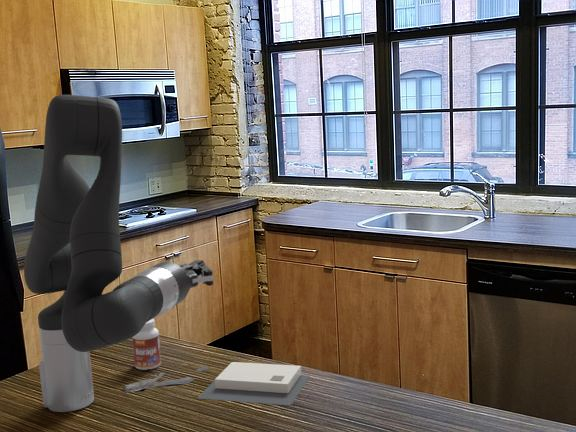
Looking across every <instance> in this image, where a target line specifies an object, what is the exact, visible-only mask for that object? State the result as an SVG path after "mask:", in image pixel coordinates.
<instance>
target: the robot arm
mask: <svg viewBox="0 0 576 432" xmlns="http://www.w3.org/2000/svg"><path fill="white" fill-rule="evenodd" d="M45 116H46V117H45V126H44V127H45V129H44V140H43V141H44V143H43V144H44V145H43V157H42V159H43V161H42V168H41V169H42V170H41V175H40V179H39V184H38V185H39V186H38V191H37V194H36V195H37V196H36V201H35V208H34V219H33V228H32V231H31V232H32V234H31V236H30V237H31V238H30V240H29V244H28V246H27V250H26V254H25V258H24V264H23V276H24V277H23V278H24V282H25V284H26V287H27V289H28V290H29V291H30V292H31V293H33V294H36V295H48V294H52V293H58V292H63V294H62V295H61V296H60V297H59V298H58V299H57V300H56V301H55V302H53V303H51V304H50V305H48V306H46V307H45V308H43V309H42V310H41V311H40V312H39V313H38V314H37V321H38V330H39V337H40V338H39V340H40V347H41V349H40V350H41V356H42V361H39V363H38V368H39V376H40V378H39V379H40V385H41V393H42V394H41V395H42V403H43V407H44V408H48V409H49V410H50V411H52V412H54V413H55V412H57V413H69V412H75V411H77V410H81V409H85V408H87V407H88V406H90V405H91V404H92V403H93V402H94V400H95V395H94V393H95V392H94V384H93V371H92V363H91V362H92V361H91V355H90V354H91V353H90V352H93V351H96V350H98V349H99V350H100V349H102V348H106V347H109V346H113V345H115V344H120V343H123V342H125V341H127V340H130V339H132V337H133V336H135V335H136V334H138V333H139V332H140V330H141V329H142V328H143V326H144V325H145V323H146V322H148V321H150V320H151V319H154V318H156V317H158V316H159V317H160V316H161V315H163V314H165V313H166V312H168V311H169V310H171V309H172V308H174V307H175V306H177V305H179V304H180V303H182V302H183V301H185V299H186V298H187V296H188V294H189V292H190V290H191V289H192V288H195V287H197V286H198V285H199V283H202V285H206V286H209V287H210V286H213V285H214V273H213V270H212V269H211V268H210V267H208V266H207V265H206V262H204V261H205V260H203V259H202V260H201V259H197V260H196V259H195V260H194V261H191V262H189V263H183V264H177V263H175V262H172V261H162V262H159V263H156V264H155V265H153V266H151V267H149V268H147V269H145V270H142V271H140V272H138V273H137V274H135V275H134V276H133V277H132V278H130V279H128V280H125V281H123V282H122V283H120V284H118V285H117V286H116V287H114V289H112V291H109V292H106V293H103V292H104V290H105V289H106V287H108V286H109V285H110V284H111V283H113V282H115V281H116V280H117V279H118V278H119V277H120V276H121V274H122V272H123V257H122V245H121V244H122V243H121V231H120V193H121V180H122V177H121V176H122V156H123V155H122V152H123V151H122V149H123V121H122V113H121V111H120V107H119V105H118V103H117V102H116V101H115V100H114V99H111V98H107V97H100V96H99V97H98V96H87V95H76V94H57V95H55V96H54V97H52V99H51V100H50V102H49V104H48V107H47V110H46V115H45ZM68 156H88V157H90V156H91V157H100V163H99V170H98V173H97V174H96V178H95V180H94V181H93V183H92V185H91V187H90V186H89V185H88V182H87V181H86V180H85V179H84V177H83V176H82V174H81V173H80V172H79V171H78V170H77V168H75V166H73V163H71V161H70V159H69V157H68Z"/></svg>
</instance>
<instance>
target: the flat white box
mask: <svg viewBox="0 0 576 432" xmlns="http://www.w3.org/2000/svg"><path fill="white" fill-rule="evenodd" d="M301 375H302V365H291V364H278V363H277V364H274V363H260V362H259V363H256V362H241V361H240V362H238V361H232V362H231V363H229V364H228V366H226V367H225V368H224V370H222V371H221V373H219V374H218V375H217V377H215V378H214V381H215V387H216V388H219V389H233V390H247V391H261V392H275V393H289V392H290V390H291V389H292V387H293V386H294V385H295V383H296V382H297V380H298V379H299V377H300V376H301Z"/></svg>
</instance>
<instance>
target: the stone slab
mask: <svg viewBox="0 0 576 432" xmlns="http://www.w3.org/2000/svg"><path fill="white" fill-rule="evenodd" d="M197 367H198V366H197ZM208 367H209V366H208V365H203V366H202V367H201V366H199V367H198V368H197V369H196V371H195V372H196V373H200V372H203V371H206V370H208ZM159 373H160V374H158V373H157V374H158V375H159V376H158V377H156V378H154V379H151V378H147V379H148V380H147V379H144V380H140V381H137V382H133V383H130V384H126V385H125V384H124V387H123V393H129V392H130V393H131V392H133V393H134V392H137V391H141V390H145V389H148V388H156V387H163V386H164V387H165V386H169V385H170V386H171V385H186V384H188V383H189V384H190V383H191V382H194V380H195V378H192V377H189V376H186V377H182V378H178V379H174V378H173V379H167V380H161V381H159V382H158V380H159V379H160V378H161V377H163V376H164V375H165V374H166V372H159ZM157 374H154V376H157ZM134 377H135V376H132V379H134Z"/></svg>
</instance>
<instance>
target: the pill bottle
mask: <svg viewBox="0 0 576 432" xmlns="http://www.w3.org/2000/svg"><path fill="white" fill-rule="evenodd" d="M155 322H156V321H155V319H154V318H153V319H151V320H150V321H148V322H146V323H145V325H144V326H143V328H142V329H141V330H140V332H139V333H138V334H136V335H135V336H133V337H132V338H131V339H132V341H131V342H132V350H133V351H132V353H133V362H134V367H135V368H136V369H138V370H140V371H148V369H149V370H153V369H156V368H158V367H160V366H161V365H162V357H161V343H160V342H161V341H160V331H159V329H157V328H156V327H155V326H156V323H155Z"/></svg>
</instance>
